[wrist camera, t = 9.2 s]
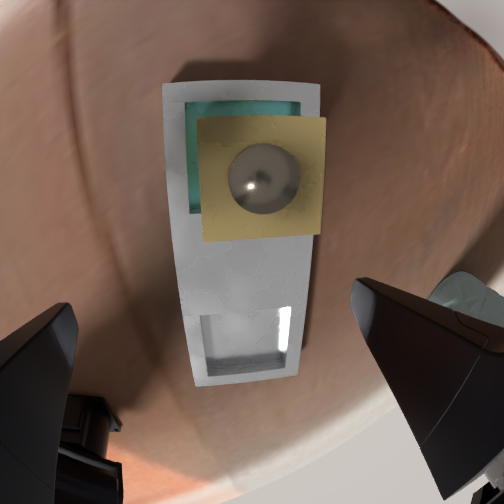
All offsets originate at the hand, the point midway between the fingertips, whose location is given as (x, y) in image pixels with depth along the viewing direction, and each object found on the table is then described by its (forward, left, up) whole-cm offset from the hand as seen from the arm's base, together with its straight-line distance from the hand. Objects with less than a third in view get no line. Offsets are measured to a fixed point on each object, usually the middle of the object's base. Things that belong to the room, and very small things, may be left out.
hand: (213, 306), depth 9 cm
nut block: (+3, -2, -11) cm, 12 cm away
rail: (-4, -2, -12) cm, 13 cm away
